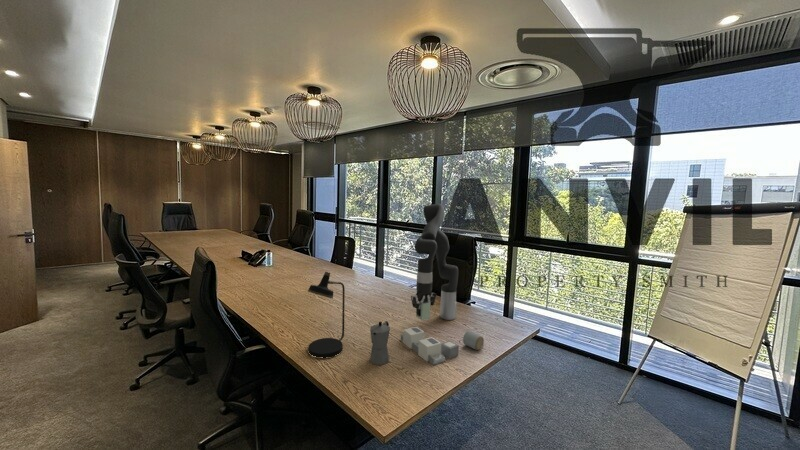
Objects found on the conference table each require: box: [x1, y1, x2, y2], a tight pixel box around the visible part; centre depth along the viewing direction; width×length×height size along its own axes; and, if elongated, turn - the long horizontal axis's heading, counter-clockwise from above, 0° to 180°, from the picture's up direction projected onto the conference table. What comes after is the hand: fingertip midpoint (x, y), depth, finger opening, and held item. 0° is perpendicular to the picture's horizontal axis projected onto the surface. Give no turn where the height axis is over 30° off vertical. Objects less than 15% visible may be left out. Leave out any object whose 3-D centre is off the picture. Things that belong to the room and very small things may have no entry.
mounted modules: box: [402, 326, 442, 362], centre depth 153 cm, size 8×20×7 cm, turn 31°
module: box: [415, 301, 431, 321], centre depth 152 cm, size 4×5×8 cm
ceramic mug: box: [462, 329, 485, 351], centre depth 158 cm, size 11×8×8 cm
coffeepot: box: [369, 320, 391, 366], centre depth 143 cm, size 15×9×18 cm, turn 159°
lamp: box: [307, 271, 346, 358], centre depth 150 cm, size 16×22×38 cm
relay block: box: [441, 340, 460, 360], centre depth 150 cm, size 6×6×5 cm
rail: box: [400, 333, 446, 366], centre depth 153 cm, size 7×28×3 cm, turn 31°
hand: (423, 314), depth 152 cm, fingers closed on module, 4 cm apart
